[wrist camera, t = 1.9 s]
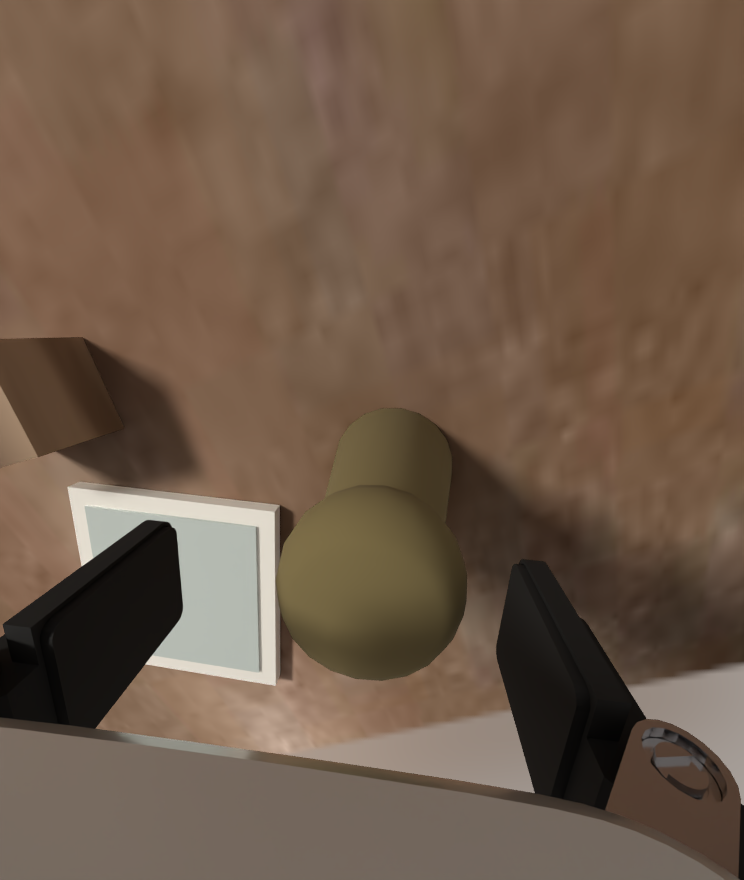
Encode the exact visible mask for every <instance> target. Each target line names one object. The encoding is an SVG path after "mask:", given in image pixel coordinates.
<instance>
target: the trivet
mask: <svg viewBox="0 0 744 880" xmlns="http://www.w3.org/2000/svg"><path fill="white" fill-rule="evenodd" d="M68 492H69V498H70V503H71V509H72V515H73V520H74V526H75V531H76V537H77V543H78V548H79V554H80V559H81V565H82V566H83V565H85V564H86V563H87V562H89V561H90V560H92V559H93V558H94V557H96V556H97V555H98V554H100V553H101V552H103V551H104V550H105V549H107V548H108V547H109V546H111V545H112V544H113V543H115V542H116V541H118V540H119V539H120V538H122V537H123V536H124V535H126V534H127V533H129V532H130V531H131V530H133V529H134V528H135V527H137V526H138V525H140V524H141V523H142V522H144V521H146V520H155V521H165V522H169V523H170V524H171V526H172V528H175V529H176V532H177V542H178V553H179V565H180V576H181V588H182V599H183V612H182V615H181V618H180V620H179V621H178V623H177V624H176V625H175V627H174V628H173V629H172V630H171V632H170V633H169V634H168V636H167V637H166V638H165V639H164V641H163V642H162V643H161V645H160V646H159V647H158V648H157V650H156V651H155V652H154V654H153V655H152V656H151V657H150V659H149V660H148V661H147V663H146V664H147V665H153V666H159V667H166V668H172V669H178V670H184V671H190V672H196V673H202V674H208V675H214V676H220V677H226V678H232V679H238V680H244V681H250V682H256V683H263V684H269V685H275V686H276V684H277V681H278V679H279V676H280V608H279V605H278V597H277V589H276V576H277V571H278V566H279V562H280V505H274V504H266V503H257V502H249V501H240V500H232V499H223V498H215V497H207V496H198V495H190V494H181V493H173V492H164V491H156V490H147V489H139V488H130V487H122V486H114V485H105V484H97V483H88V482H78V483H75V484H73V485H71V486H69V487H68Z"/></svg>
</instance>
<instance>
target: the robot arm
mask: <svg viewBox="0 0 744 880" xmlns="http://www.w3.org/2000/svg"><path fill="white" fill-rule="evenodd" d="M182 612H183V599H182V588H181V576H180V565H179V553H178V542H177V532H176V529H175V528H172V526H171V524H170V523H169V522H165V521H155V520H146V521H144V522H142V523H141V524H140V525H138V526H137V527H135V528H134V529H133V530H131V531H130V532H129V533H127V534H126V535H124V536H123V537H122V538H120V539H119V540H118V541H116V542H115V543H113V544H112V545H111V546H109V547H108V548H107V549H105V550H104V551H103V552H101V553H100V554H98V555H97V556H96V557H94V558H93V559H92V560H90V561H89V562H87V563H86V564H85V565H83V566H82V567H81V568H79V569H78V570H76V571H75V572H74V573H72V574H71V575H70V576H68V577H67V578H65V579H64V580H63V581H61V582H60V583H59V584H57V585H56V586H54V587H53V588H52V589H50V590H49V591H48V592H46V593H45V594H44V595H42V596H41V597H39V598H38V599H37V600H35V601H34V602H33V603H31V604H30V605H28V606H27V607H26V608H24V609H23V610H22V611H20V612H19V613H17V614H16V615H15V616H13V617H12V618H11V619H9V620H8V621H6V622H5V623H4V624H3V628H4V632H5V634H4V635H3V636H2V637H0V880H744V805H742V804H741V798H740V793H739V788H738V785H737V783H736V782H735V780H734V778H733V776H732V774H731V772H730V771H729V770H728V768H727V767H726V766H725V765H724V763H723V762H722V761H721V760H720V758H719V757H718V756H717V755H716V754H715V753H714V752H713V751H711V750H710V749H709V748H708V747H707V746H706V745H705V744H704V743H703V742H701V741H700V740H698V739H697V738H695V737H694V736H693V735H691V734H690V733H688V732H687V731H684V730H683V729H681V728H679V727H677V726H674V725H673V724H670V723H667V722H663V721H660V720H651V719H646V717H645V716H644V714H643V712H642V711H641V709H640V708H639V706H638V704H637V703H636V701H635V700H634V698H633V696H632V695H631V693H630V692H629V690H628V688H627V687H626V685H625V684H624V682H623V680H622V679H621V677H620V676H619V674H618V672H617V671H616V669H615V668H614V666H613V664H612V663H611V661H610V660H609V658H608V656H607V655H606V653H605V652H604V650H603V648H602V647H601V645H600V644H599V642H598V640H597V639H596V637H595V636H594V634H593V632H592V631H591V629H590V628H589V626H588V624H587V623H586V622H585V621H584V620H583V619H581V618H579V616H578V614H577V613H576V611H575V609H574V608H573V606H572V605H571V603H570V601H569V600H568V598H567V596H566V595H565V593H564V591H563V590H562V588H561V587H560V585H559V583H558V582H557V580H556V578H555V577H554V575H553V574H552V572H551V570H550V569H549V567H548V565H547V564H546V563H545V562H543V561H535V560H525V559H522V560H521V561H520V563H519V564H514V565H513V566H512V570H511V575H510V580H509V585H508V590H507V595H506V600H505V605H504V610H503V615H502V620H501V625H500V630H499V635H498V640H497V646H496V654H497V660H498V664H499V668H500V671H501V675H502V678H503V682H504V685H505V689H506V692H507V696H508V699H509V703H510V707H511V710H512V714H513V717H514V721H515V724H516V727H517V731H518V735H519V738H520V742H521V745H522V749H523V752H524V756H525V759H526V763H527V766H528V770H529V773H530V777H531V780H532V784H533V788H534V791H535V793H530V792H524V791H518V790H512V789H506V788H500V787H494V786H488V785H482V784H476V783H470V782H464V781H458V780H452V779H445V778H439V777H432V776H425V775H418V774H412V773H405V772H398V771H391V770H384V769H378V768H371V767H364V766H357V765H350V764H344V763H337V762H330V761H323V760H316V759H310V758H302V757H295V756H288V755H281V754H274V753H267V752H260V751H253V750H246V749H239V748H232V747H225V746H218V745H210V744H203V743H196V742H189V741H182V740H174V739H167V738H160V737H152V736H145V735H137V734H130V733H122V732H115V731H108V730H100V729H95V728H96V727H97V725H98V724H99V723H100V722H101V720H102V719H103V718H104V716H105V715H106V714H107V713H108V711H109V710H110V709H111V707H112V706H113V705H114V704H115V702H116V701H117V700H118V699H119V697H120V696H121V695H122V693H123V692H124V691H125V690H126V688H127V687H128V686H129V684H130V683H131V682H132V681H133V679H134V678H135V677H136V675H137V674H138V673H139V672H140V670H141V669H142V668H143V666H144V665H145V664H146V663H147V661H148V660H149V659H150V657H151V656H152V655H153V654H154V652H155V651H156V650H157V648H158V647H159V646H160V645H161V643H162V642H163V641H164V639H165V638H166V637H167V636H168V634H169V633H170V632H171V630H172V629H173V628H174V627H175V625H176V624H177V623H178V621H179V620H180V618H181V615H182Z"/></svg>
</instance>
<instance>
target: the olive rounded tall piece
mask: <svg viewBox="0 0 744 880" xmlns="http://www.w3.org/2000/svg"><path fill="white" fill-rule="evenodd" d="M451 477H452V454H451V451H450V448H449V445H448V442H447V439H446V438H445V437H444V435H443V434H442V433H441V431H440V430H439V429H438V427H437V426H436V425H435V424H434V423H432V422H431V421H429V420H428V419H427V418H425V417H424V416H422V415H421V414H419V413H416V412H412V411H409V410H406V409H402V408H382V409H379V410H376V411H373V412H370V413H367V414H364V415H363V416H361V417H360V418H359V419H357V420H356V421H355V422H353V423H352V424H351V425H350V426H349V427H348V428H347V430H346V431H345V433H344V434H343V436H342V437H341V439H340V441H339V445H338V448H337V452H336V456H335V460H334V464H333V468H332V472H331V476H330V480H329V484H328V488H327V492H326V496H325V499H323V500H322V501H320V502H319V503H318V504H316V505H315V506H313V507H312V508H310V509H309V510H308V511H306V512H305V513H304V515H303V516H302V518H301V519H300V521H299V522H298V523H297V525H296V526H295V528H294V529H293V531H292V532H291V534H290V535H289V537H288V538H287V540H286V541H285V543H284V545H283V549H282V554H281V558H280V562H279V566H278V571H277V576H276V589H277V597H278V605H279V608H280V612H281V615H282V618H283V620H284V622H285V624H286V626H287V628H288V630H289V632H290V634H291V636H292V638H293V640H294V641H295V642H296V643H297V644H298V645H299V646H300V647H301V648H302V649H303V650H304V652H305V653H306V654H307V655H308V656H309V657H310V658H312V659H314V660H315V661H317V662H318V663H320V664H321V665H323V666H325V667H326V668H328V669H329V670H331V671H334V672H337V673H340V674H343V675H346V676H349V677H352V678H355V679H366V680H379V681H383V680H388V679H394V678H399V677H405V676H408V675H410V674H412V673H414V672H416V671H418V670H420V669H422V668H424V667H426V666H428V665H429V664H430V663H431V662H432V661H433V660H434V659H435V658H436V657H437V656H438V655H439V654H440V653H441V652H442V651H443V650H444V649H445V648H446V647H447V645H448V644H449V643H450V642H451V641H452V640H453V638H454V636H455V634H456V631H457V629H458V627H459V625H460V622H461V620H462V618H463V616H464V611H465V605H466V594H467V572H466V568H465V563H464V560H463V557H462V554H461V551H460V548H459V546H458V543H457V540H456V537H455V536H454V534H453V533H452V532H451V530H450V529H449V528H448V526H447V525H446V516H447V508H448V500H449V493H450V485H451Z"/></svg>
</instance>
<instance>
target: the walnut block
mask: <svg viewBox="0 0 744 880" xmlns="http://www.w3.org/2000/svg"><path fill="white" fill-rule="evenodd" d="M121 429H124V426H123V424H122V422H121V420H120V418H119V415H118V413H117V411H116V409H115V407H114V404H113V402H112V400H111V398H110V396H109V394H108V391H107V389H106V387H105V385H104V383H103V381H102V378H101V376H100V374H99V372H98V370H97V368H96V365H95V363H94V361H93V359H92V357H91V355H90V352H89V350H88V348H87V346H86V344H85V342H84V339H83V337H71V338H24V339H0V468H2V467H6V466H9V465H13V464H16V463H20V462H23V461H27V460H30V459H33V458H37V457H40V456H43V455H46V454H49V453H52V452H55V451H58V450H61V449H64V448H67V447H70V446H73V445H76V444H79V443H82V442H85V441H88V440H91V439H94V438H97V437H100V436H103V435H106V434H109V433H112V432H115V431H118V430H121Z"/></svg>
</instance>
